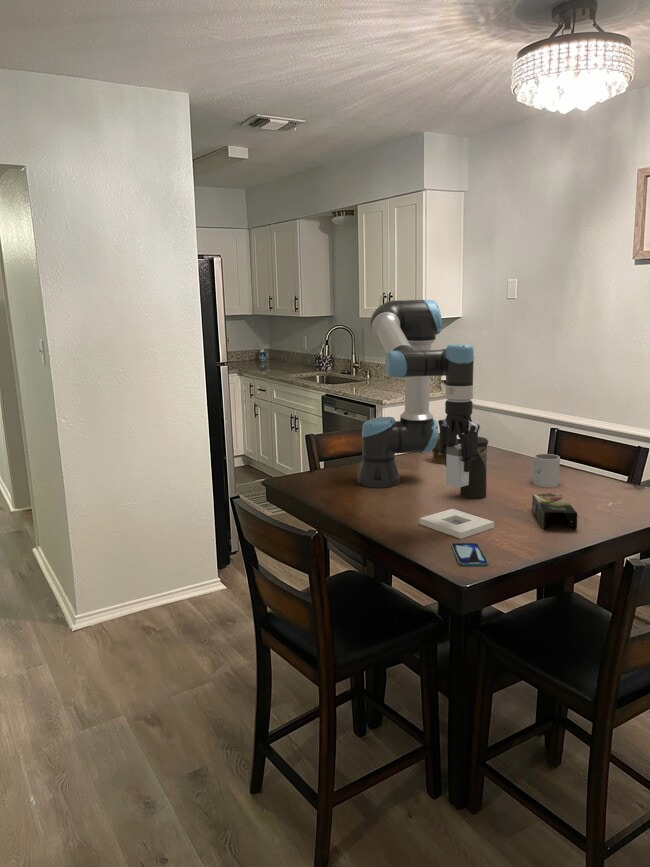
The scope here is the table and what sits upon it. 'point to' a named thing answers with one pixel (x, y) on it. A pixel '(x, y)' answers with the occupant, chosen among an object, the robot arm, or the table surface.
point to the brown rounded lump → (436, 452)
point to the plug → (454, 466)
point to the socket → (456, 523)
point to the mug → (546, 470)
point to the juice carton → (552, 508)
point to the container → (477, 473)
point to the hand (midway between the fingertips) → (457, 480)
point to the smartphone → (469, 554)
